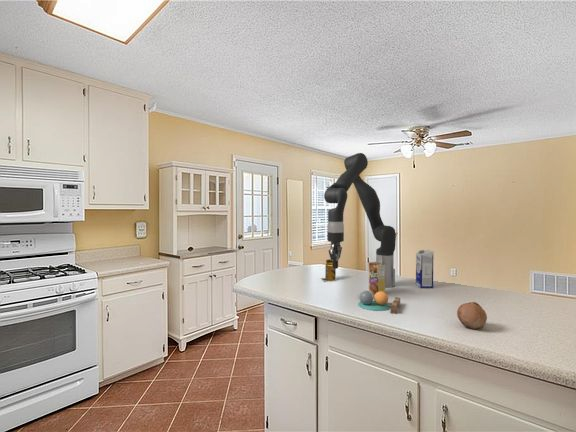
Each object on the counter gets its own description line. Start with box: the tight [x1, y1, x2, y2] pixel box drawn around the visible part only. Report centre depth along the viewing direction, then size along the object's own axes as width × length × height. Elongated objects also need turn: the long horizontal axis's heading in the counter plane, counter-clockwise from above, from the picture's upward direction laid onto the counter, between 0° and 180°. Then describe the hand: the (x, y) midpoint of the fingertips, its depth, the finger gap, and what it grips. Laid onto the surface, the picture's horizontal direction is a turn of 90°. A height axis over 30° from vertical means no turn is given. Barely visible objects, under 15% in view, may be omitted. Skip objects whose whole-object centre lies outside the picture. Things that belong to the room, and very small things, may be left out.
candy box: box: [368, 261, 386, 295], centre depth 161 cm, size 9×4×15 cm, turn 17°
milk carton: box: [415, 249, 435, 289], centre depth 175 cm, size 7×7×20 cm
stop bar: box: [390, 296, 401, 315], centre depth 138 cm, size 14×2×3 cm, turn 153°
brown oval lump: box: [456, 301, 488, 330], centre depth 116 cm, size 10×9×10 cm
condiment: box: [320, 258, 338, 282], centre depth 191 cm, size 7×8×12 cm
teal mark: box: [357, 300, 391, 312], centre depth 142 cm, size 14×14×1 cm
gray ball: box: [359, 290, 374, 305], centre depth 143 cm, size 6×6×6 cm
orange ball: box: [373, 291, 389, 305], centre depth 142 cm, size 6×6×6 cm
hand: (335, 268), depth 149 cm, fingers closed
